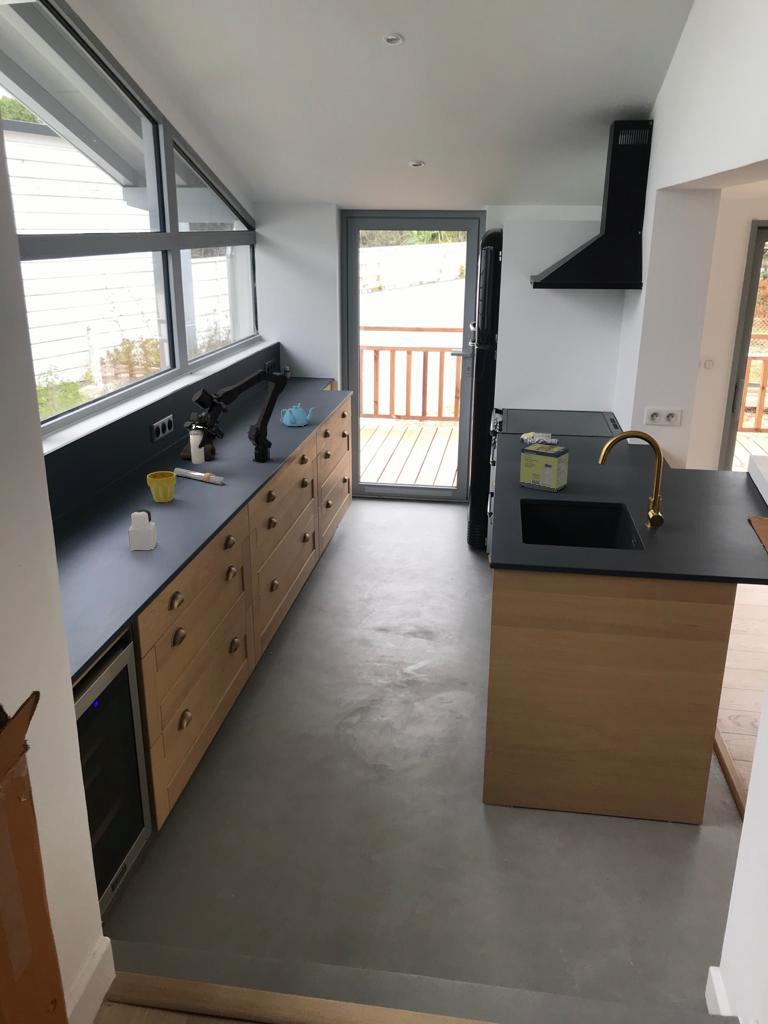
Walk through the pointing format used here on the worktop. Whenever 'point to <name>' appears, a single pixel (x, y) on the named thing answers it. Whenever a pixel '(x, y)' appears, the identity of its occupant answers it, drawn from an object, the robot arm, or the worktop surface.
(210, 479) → the grey steel rod
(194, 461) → the white grey cylinder
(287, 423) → the teapot
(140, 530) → the medicine bottle
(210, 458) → the dark brown lump
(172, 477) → the plant pot
